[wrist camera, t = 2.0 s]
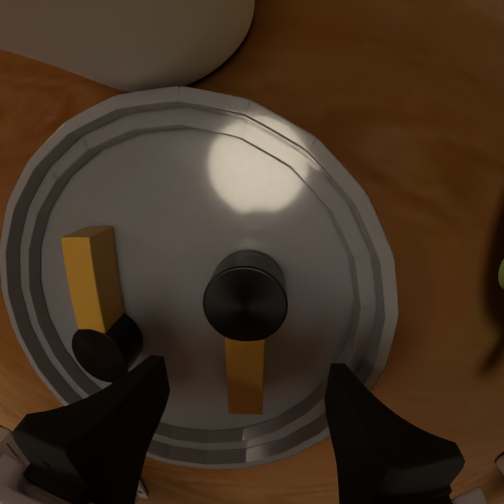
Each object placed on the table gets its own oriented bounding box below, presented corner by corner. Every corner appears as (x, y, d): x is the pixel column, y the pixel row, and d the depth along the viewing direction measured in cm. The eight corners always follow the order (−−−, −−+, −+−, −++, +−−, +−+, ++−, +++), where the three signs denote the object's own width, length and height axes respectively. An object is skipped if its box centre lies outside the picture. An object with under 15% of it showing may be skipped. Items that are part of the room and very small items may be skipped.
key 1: (279, 387, 15) (279, 415, 13) (218, 384, 15) (211, 412, 13) (286, 250, 13) (290, 267, 11) (211, 248, 13) (199, 265, 11)
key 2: (74, 226, 13) (47, 237, 11) (128, 225, 13) (105, 237, 11) (98, 354, 15) (80, 376, 13) (148, 362, 15) (133, 388, 13)
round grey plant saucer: (342, 438, 17) (348, 470, 14) (75, 409, 18) (58, 433, 15) (389, 109, 11) (416, 97, 9) (19, 134, 12) (-15, 133, 10)
